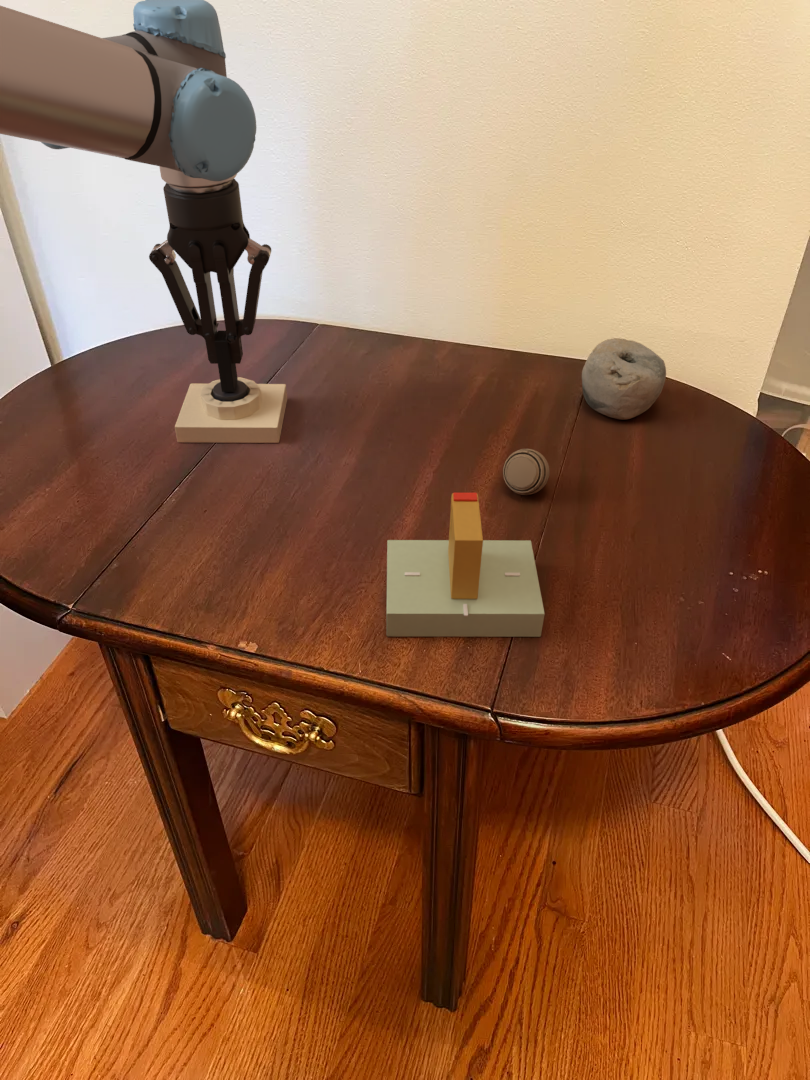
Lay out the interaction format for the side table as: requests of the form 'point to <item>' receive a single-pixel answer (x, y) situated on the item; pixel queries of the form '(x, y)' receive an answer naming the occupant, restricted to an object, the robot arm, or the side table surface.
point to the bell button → (230, 396)
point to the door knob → (526, 471)
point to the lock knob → (465, 546)
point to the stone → (622, 378)
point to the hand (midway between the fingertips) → (229, 385)
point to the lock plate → (430, 611)
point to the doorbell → (232, 415)
